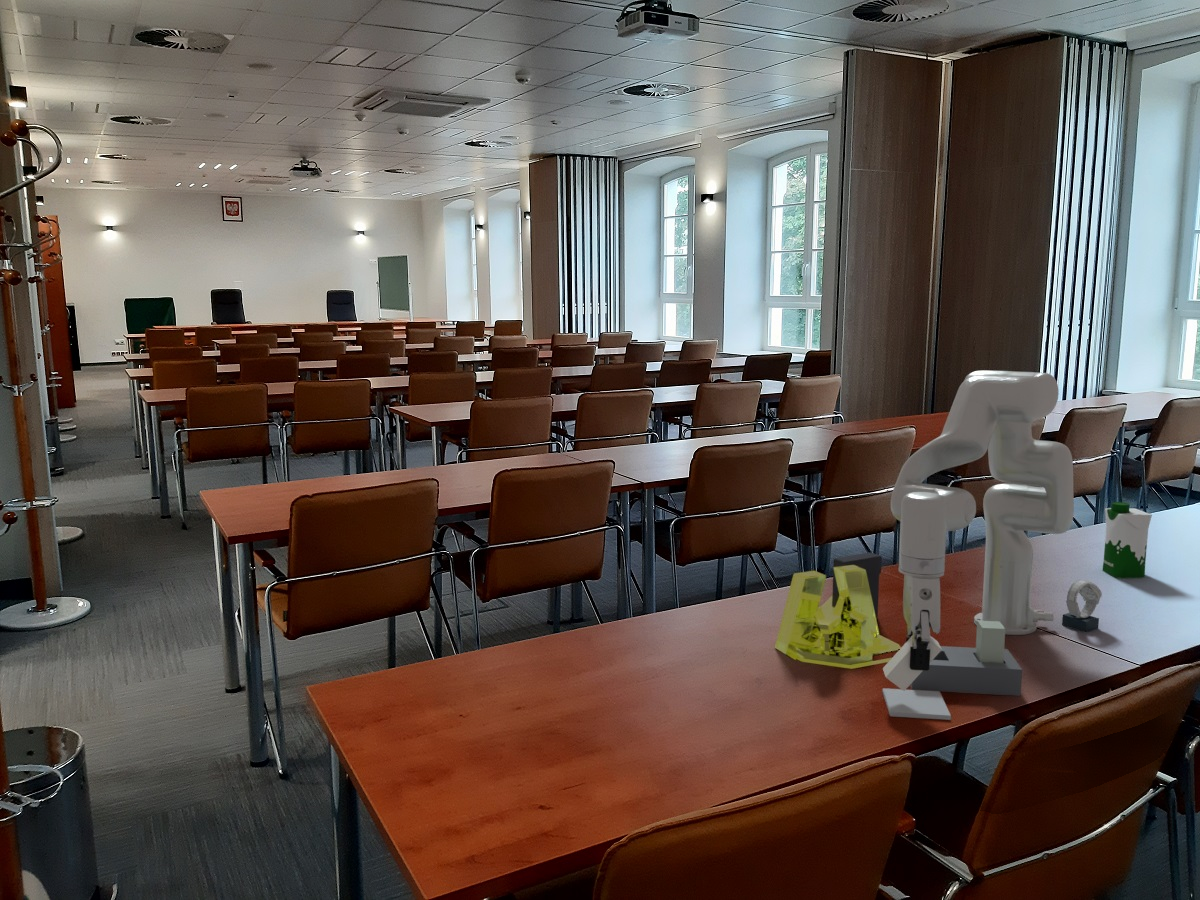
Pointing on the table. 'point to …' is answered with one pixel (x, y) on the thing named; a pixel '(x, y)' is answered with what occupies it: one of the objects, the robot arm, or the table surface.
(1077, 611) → the watch
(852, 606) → the crystal
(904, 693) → the mat
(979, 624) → the sage plug
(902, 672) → the white plug
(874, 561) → the black block
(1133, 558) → the milk carton
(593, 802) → the table surface
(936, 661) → the plate
